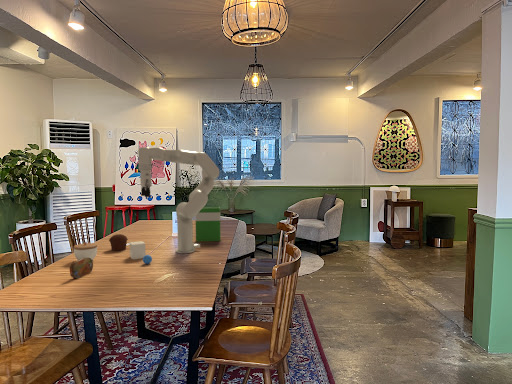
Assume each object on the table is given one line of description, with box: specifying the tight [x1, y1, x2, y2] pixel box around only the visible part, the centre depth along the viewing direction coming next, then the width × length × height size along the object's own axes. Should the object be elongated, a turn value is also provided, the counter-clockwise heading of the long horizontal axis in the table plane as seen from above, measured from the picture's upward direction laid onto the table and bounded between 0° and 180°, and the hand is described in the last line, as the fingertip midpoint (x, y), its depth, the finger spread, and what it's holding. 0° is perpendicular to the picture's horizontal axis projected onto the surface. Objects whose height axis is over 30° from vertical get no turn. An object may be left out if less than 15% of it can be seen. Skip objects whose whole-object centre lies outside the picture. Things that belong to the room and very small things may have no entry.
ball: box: [142, 254, 153, 265], centre depth 210 cm, size 5×5×5 cm
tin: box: [69, 258, 94, 279], centre depth 187 cm, size 15×3×8 cm, turn 168°
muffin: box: [108, 233, 128, 252], centre depth 246 cm, size 12×11×10 cm
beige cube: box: [129, 240, 147, 260], centre depth 224 cm, size 8×8×9 cm
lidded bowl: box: [73, 241, 98, 261], centre depth 217 cm, size 13×13×11 cm
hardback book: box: [194, 206, 222, 242], centre depth 275 cm, size 18×7×24 cm, turn 93°
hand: (145, 196), depth 226 cm, fingers open, 9 cm apart
